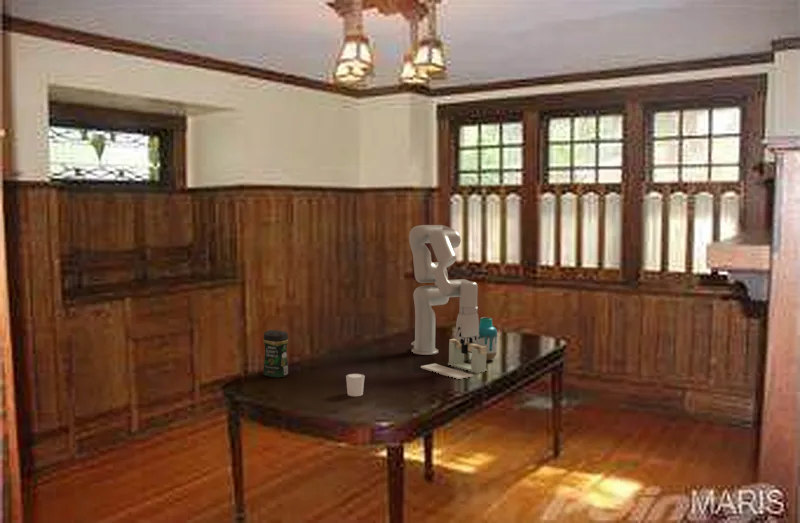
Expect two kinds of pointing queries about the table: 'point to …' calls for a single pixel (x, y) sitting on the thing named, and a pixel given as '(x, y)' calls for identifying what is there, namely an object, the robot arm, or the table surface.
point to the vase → (487, 337)
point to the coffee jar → (275, 353)
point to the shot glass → (355, 384)
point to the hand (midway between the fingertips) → (467, 352)
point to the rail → (470, 346)
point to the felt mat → (446, 371)
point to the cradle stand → (457, 361)
